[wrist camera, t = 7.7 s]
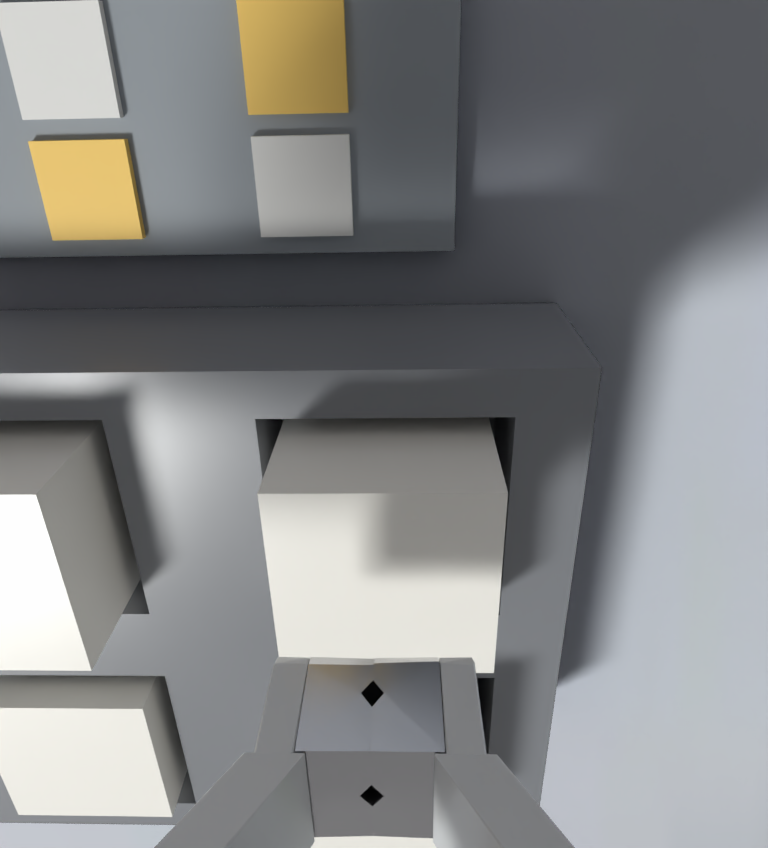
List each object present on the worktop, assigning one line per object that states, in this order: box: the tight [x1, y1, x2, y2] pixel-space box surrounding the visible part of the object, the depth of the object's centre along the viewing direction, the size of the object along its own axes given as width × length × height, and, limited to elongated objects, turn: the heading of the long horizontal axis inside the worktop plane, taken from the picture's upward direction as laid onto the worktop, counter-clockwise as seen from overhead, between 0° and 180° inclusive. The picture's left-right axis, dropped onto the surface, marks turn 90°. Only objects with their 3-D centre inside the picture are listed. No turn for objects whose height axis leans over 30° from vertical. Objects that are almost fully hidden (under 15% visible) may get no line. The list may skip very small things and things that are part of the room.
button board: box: [0, 303, 602, 825], centre depth 17 cm, size 16×14×4 cm
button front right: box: [257, 417, 508, 673], centre depth 13 cm, size 4×4×3 cm
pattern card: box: [0, 0, 461, 258], centre depth 14 cm, size 11×5×1 cm, turn 91°
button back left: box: [0, 675, 188, 817], centre depth 18 cm, size 4×4×3 cm
